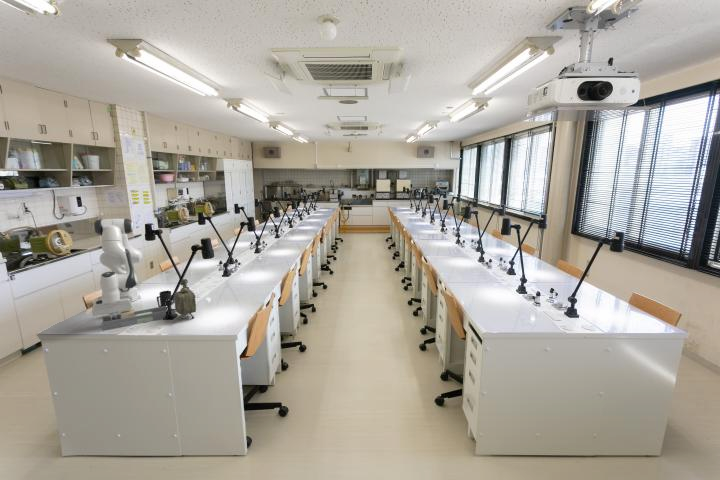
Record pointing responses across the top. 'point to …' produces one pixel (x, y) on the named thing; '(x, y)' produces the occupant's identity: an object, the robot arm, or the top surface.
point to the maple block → (127, 314)
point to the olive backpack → (185, 301)
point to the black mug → (163, 297)
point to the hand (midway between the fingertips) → (113, 319)
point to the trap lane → (135, 318)
